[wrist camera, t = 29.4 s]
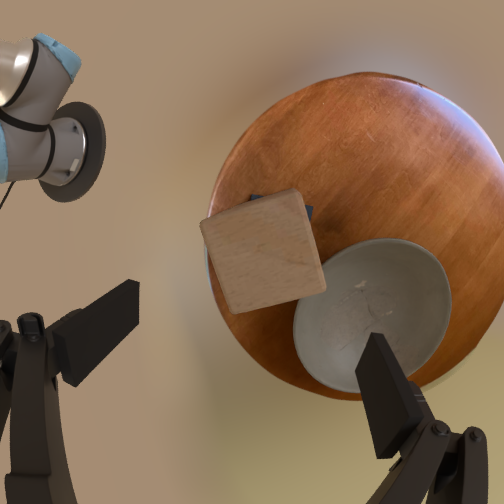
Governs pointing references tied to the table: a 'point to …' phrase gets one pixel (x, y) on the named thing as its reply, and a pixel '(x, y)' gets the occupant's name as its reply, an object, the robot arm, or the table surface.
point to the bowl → (373, 310)
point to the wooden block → (264, 252)
